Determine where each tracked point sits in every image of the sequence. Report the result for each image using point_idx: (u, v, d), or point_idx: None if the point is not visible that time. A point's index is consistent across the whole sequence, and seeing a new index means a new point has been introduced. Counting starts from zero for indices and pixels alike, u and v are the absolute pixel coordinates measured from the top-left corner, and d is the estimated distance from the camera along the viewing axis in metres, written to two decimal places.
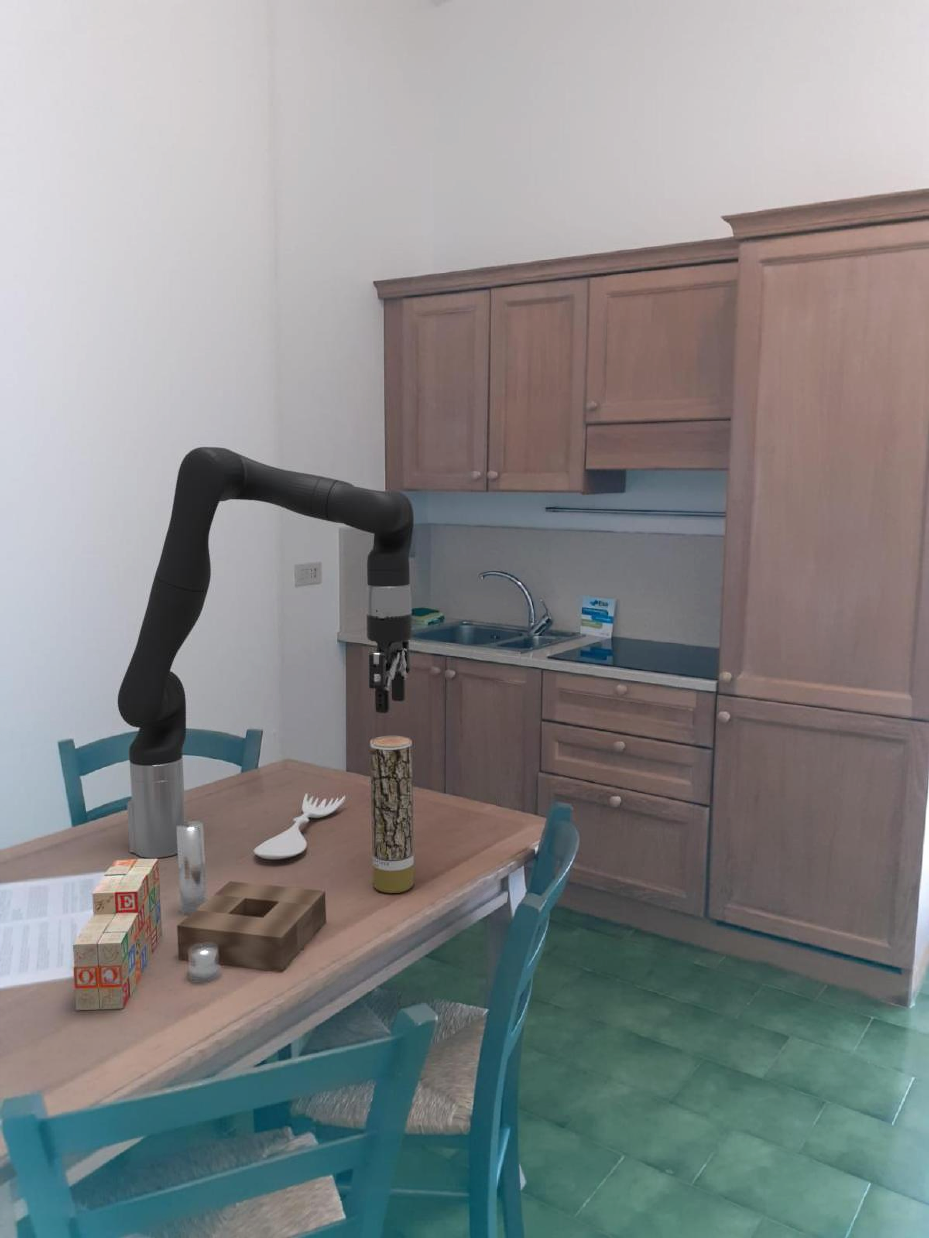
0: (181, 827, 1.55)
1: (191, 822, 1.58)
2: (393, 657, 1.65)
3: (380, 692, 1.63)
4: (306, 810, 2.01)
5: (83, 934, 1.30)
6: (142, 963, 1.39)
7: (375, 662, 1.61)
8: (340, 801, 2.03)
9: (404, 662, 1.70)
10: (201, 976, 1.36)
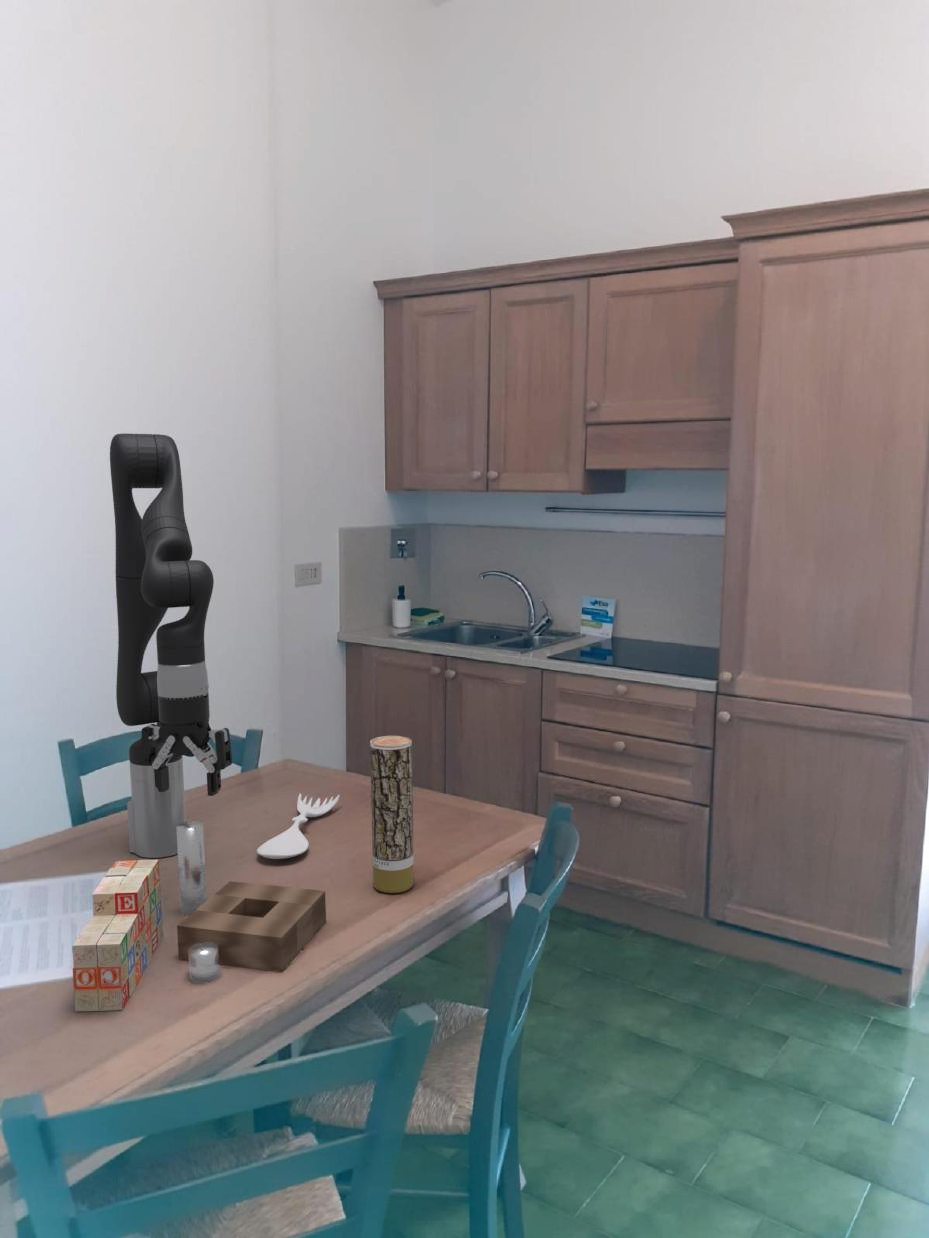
0: (181, 827, 1.55)
1: (191, 822, 1.58)
2: None
3: (218, 772, 1.54)
4: (302, 809, 2.01)
5: (83, 935, 1.30)
6: (142, 964, 1.39)
7: (225, 739, 1.53)
8: (335, 800, 2.04)
9: None
10: (201, 976, 1.36)
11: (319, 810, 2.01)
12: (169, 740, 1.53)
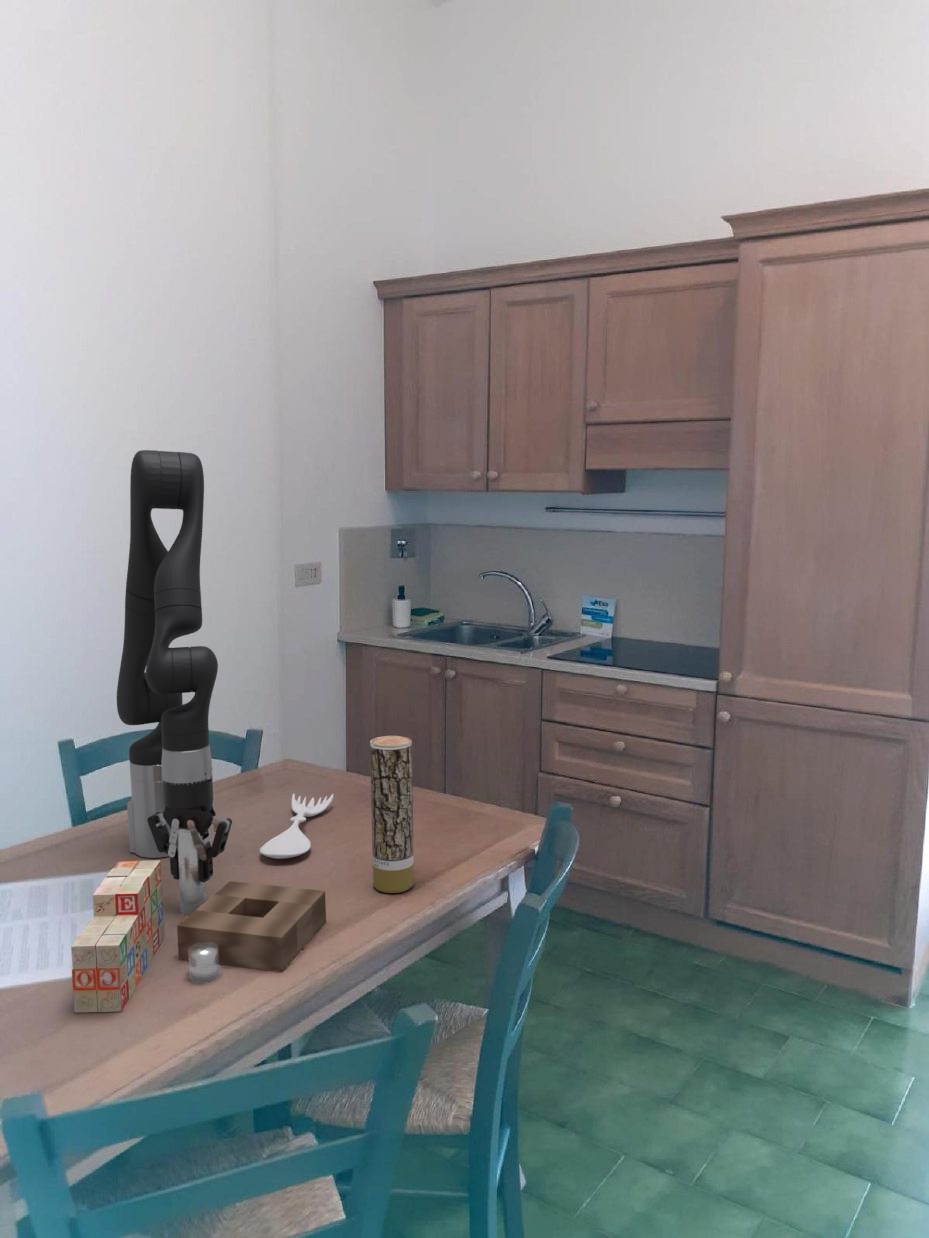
0: None
1: None
2: None
3: (210, 859, 1.56)
4: (297, 809, 2.01)
5: (82, 936, 1.30)
6: (142, 965, 1.39)
7: (226, 831, 1.55)
8: (329, 799, 2.05)
9: None
10: (201, 976, 1.36)
11: (314, 809, 2.02)
12: (174, 823, 1.55)
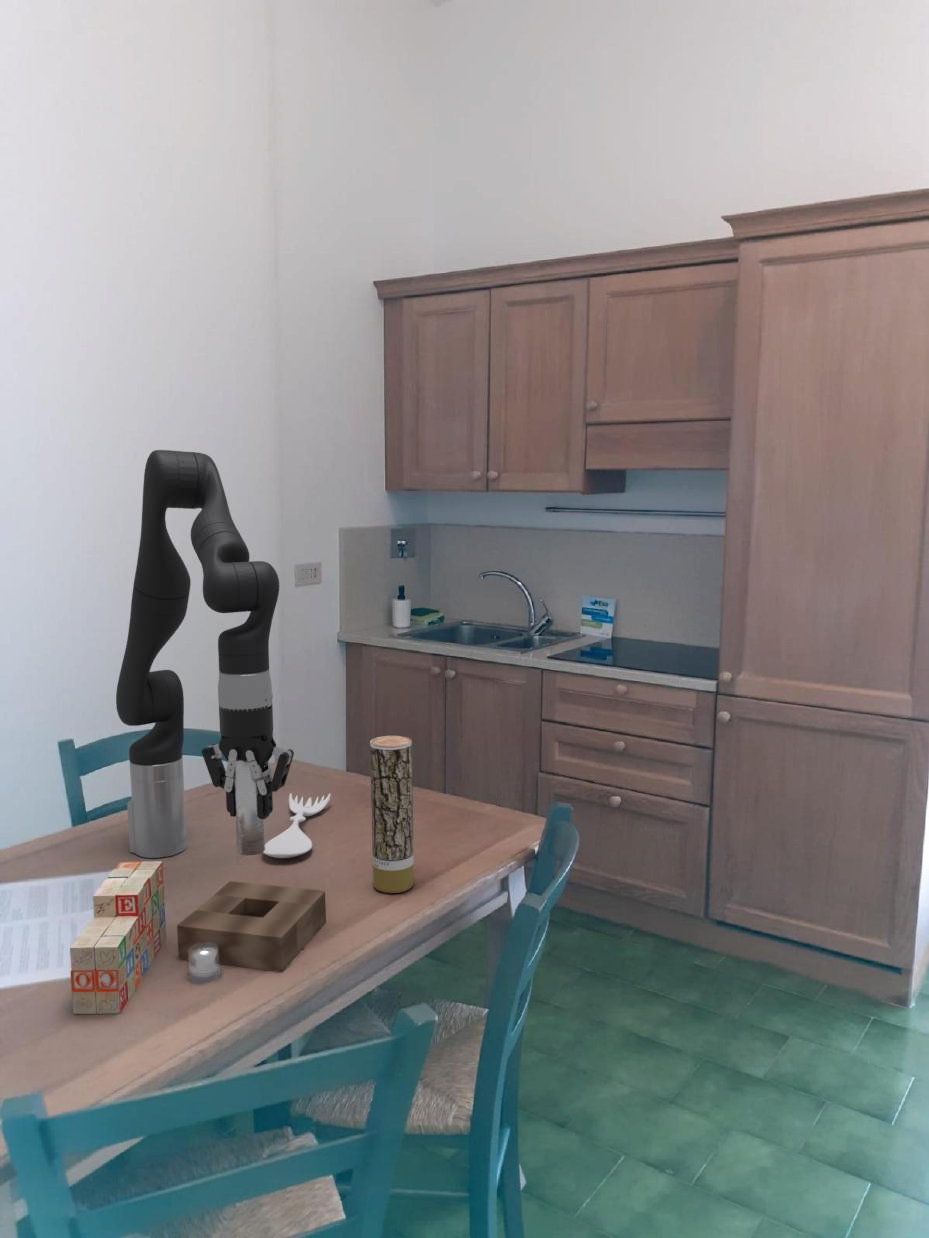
0: (239, 759, 1.43)
1: None
2: None
3: (270, 794, 1.44)
4: (295, 809, 2.02)
5: (81, 937, 1.30)
6: (143, 967, 1.38)
7: (288, 763, 1.43)
8: (327, 799, 2.05)
9: None
10: (201, 976, 1.36)
11: (312, 809, 2.02)
12: (231, 754, 1.43)
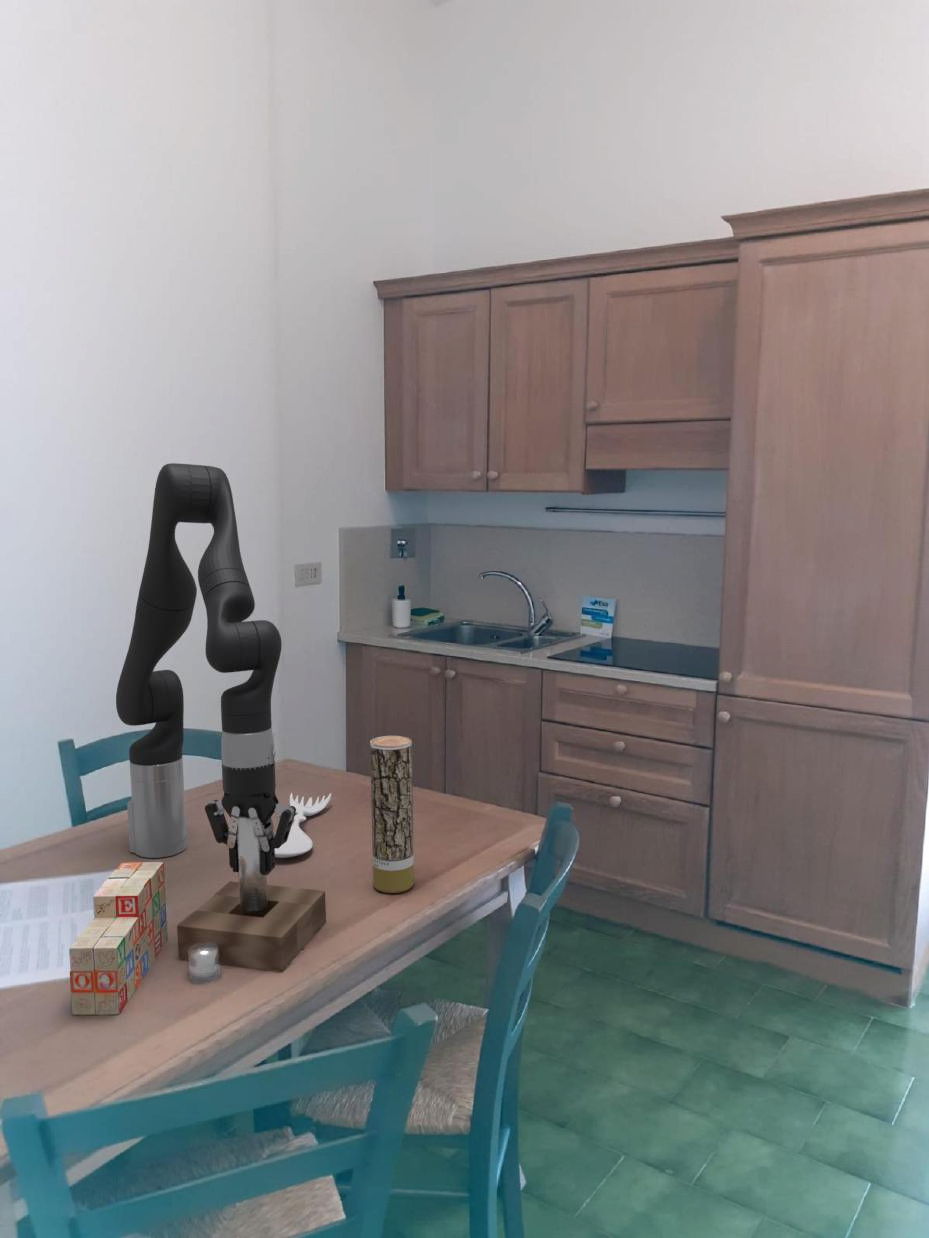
0: (241, 816, 1.44)
1: None
2: None
3: (273, 850, 1.45)
4: None
5: (81, 937, 1.29)
6: (143, 968, 1.38)
7: (290, 820, 1.44)
8: (328, 798, 2.05)
9: None
10: (201, 976, 1.36)
11: (313, 809, 2.02)
12: (234, 812, 1.44)
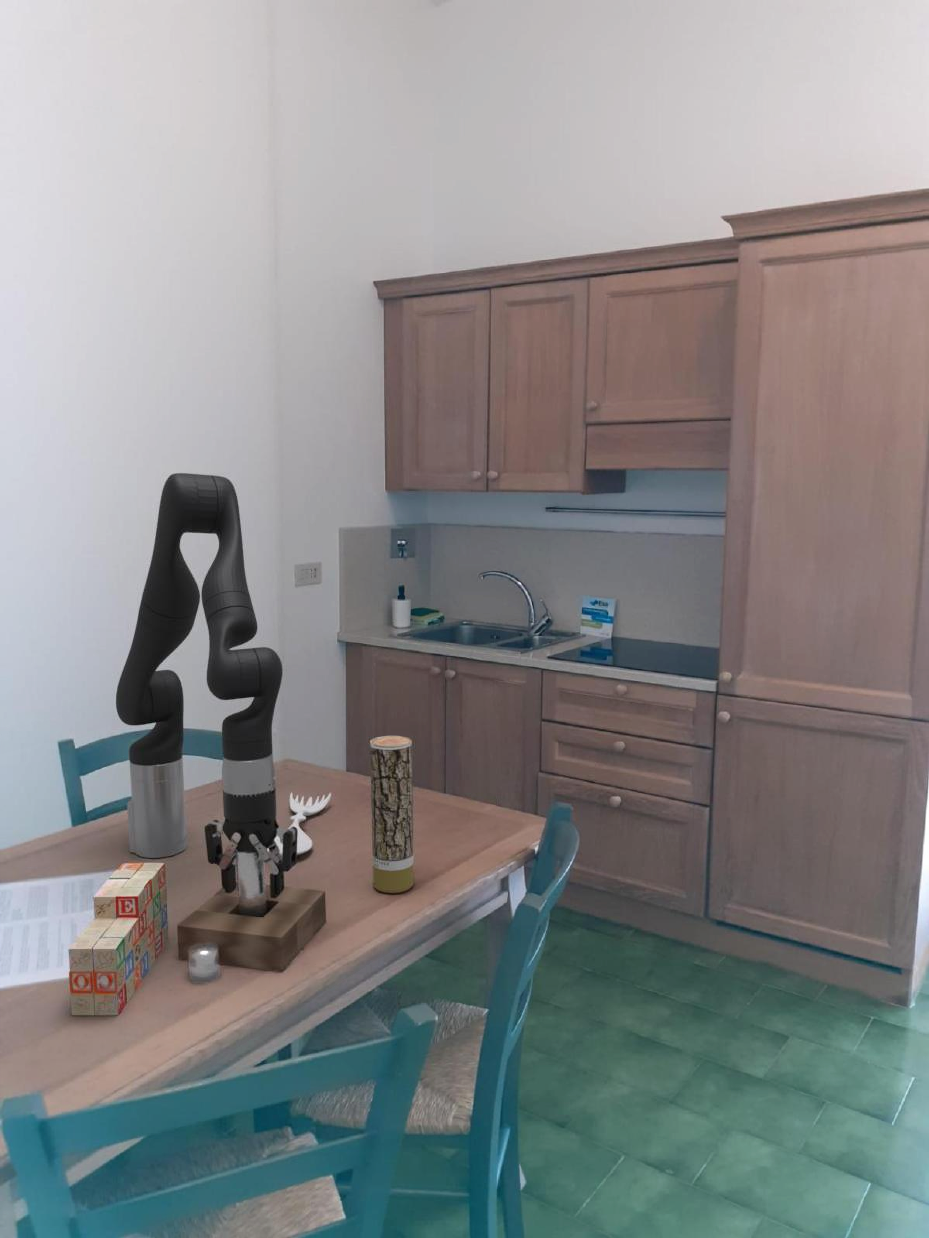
0: (241, 851, 1.45)
1: None
2: None
3: (282, 873, 1.46)
4: (295, 808, 2.02)
5: (80, 938, 1.29)
6: (143, 969, 1.38)
7: (293, 840, 1.44)
8: (328, 798, 2.05)
9: None
10: (201, 976, 1.36)
11: (313, 808, 2.02)
12: (235, 837, 1.44)
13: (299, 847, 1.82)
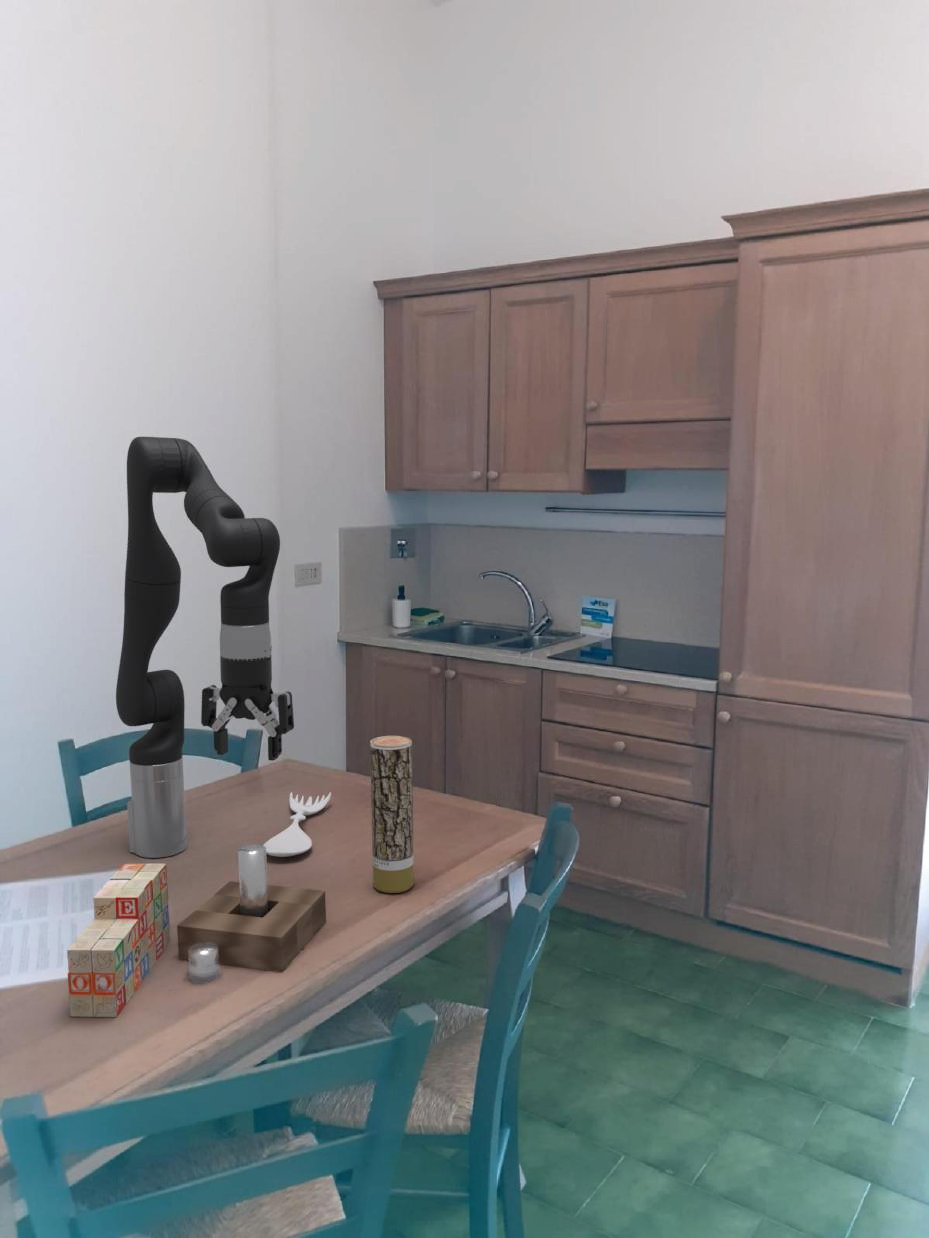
0: (244, 851, 1.45)
1: (253, 846, 1.47)
2: None
3: (280, 736, 1.50)
4: (295, 808, 2.02)
5: (80, 939, 1.29)
6: (143, 970, 1.37)
7: (288, 703, 1.49)
8: (327, 798, 2.05)
9: None
10: (201, 976, 1.36)
11: (313, 808, 2.02)
12: (231, 702, 1.49)
13: (299, 847, 1.82)
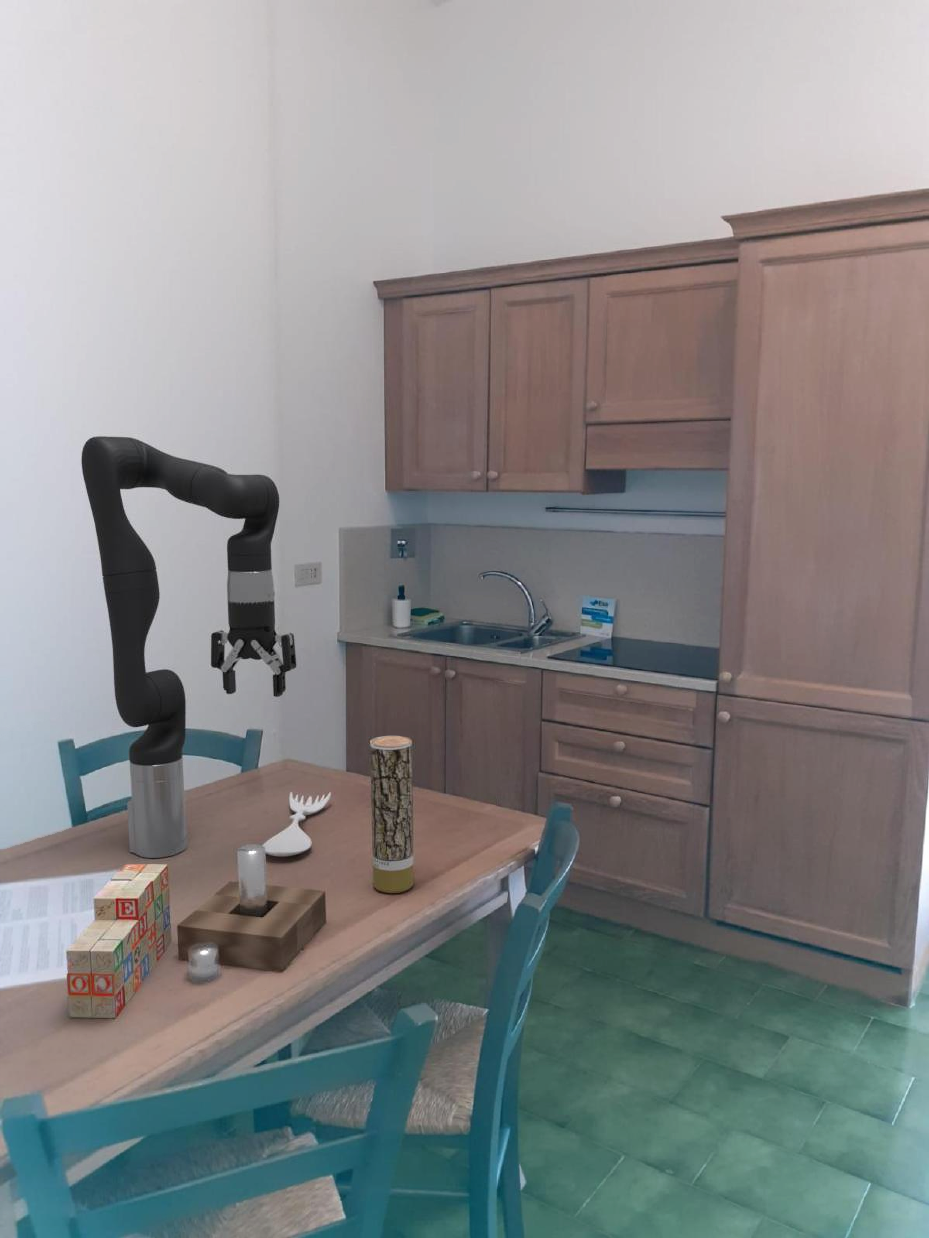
0: (243, 851, 1.45)
1: (252, 846, 1.47)
2: None
3: (283, 674, 1.64)
4: (295, 808, 2.02)
5: (79, 940, 1.29)
6: (143, 971, 1.37)
7: (291, 643, 1.63)
8: (327, 797, 2.06)
9: None
10: (201, 976, 1.36)
11: (313, 808, 2.03)
12: (238, 643, 1.63)
13: (298, 846, 1.82)
